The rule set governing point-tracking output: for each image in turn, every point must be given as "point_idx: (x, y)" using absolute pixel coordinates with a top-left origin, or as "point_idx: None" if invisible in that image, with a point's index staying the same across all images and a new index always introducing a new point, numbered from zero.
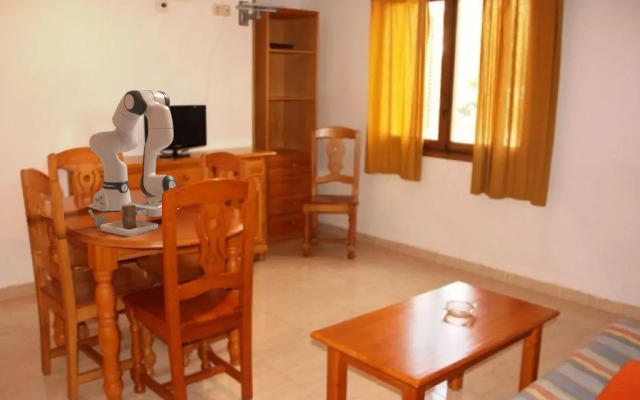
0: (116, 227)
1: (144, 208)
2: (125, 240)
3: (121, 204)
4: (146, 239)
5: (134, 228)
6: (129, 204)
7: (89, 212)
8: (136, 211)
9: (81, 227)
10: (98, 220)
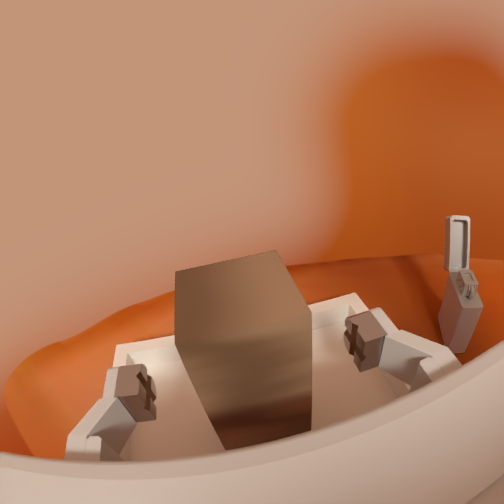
0: (334, 373)
1: (112, 462)
2: (105, 332)
3: None
4: (41, 385)
5: (223, 448)
6: (288, 312)
7: (446, 224)
8: (135, 366)
9: (445, 275)
10: (447, 295)
